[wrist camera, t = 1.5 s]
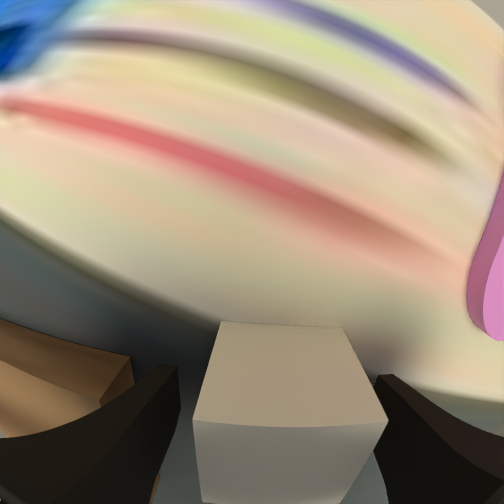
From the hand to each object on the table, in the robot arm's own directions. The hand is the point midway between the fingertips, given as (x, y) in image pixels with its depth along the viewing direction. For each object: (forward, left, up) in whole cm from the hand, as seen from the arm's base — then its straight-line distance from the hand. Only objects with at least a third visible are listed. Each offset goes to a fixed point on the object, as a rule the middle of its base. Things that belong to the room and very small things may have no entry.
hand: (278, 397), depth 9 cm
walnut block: (-5, +11, -1) cm, 12 cm away
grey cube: (0, 0, -2) cm, 2 cm away
